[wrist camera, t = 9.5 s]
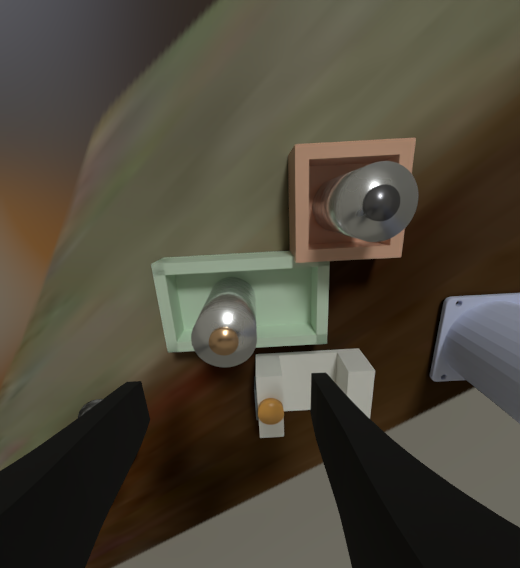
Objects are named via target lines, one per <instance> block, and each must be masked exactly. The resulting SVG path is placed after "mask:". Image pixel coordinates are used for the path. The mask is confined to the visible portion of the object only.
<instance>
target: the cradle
mask: <svg viewBox="0 0 520 568" xmlns="http://www.w3.org/2000/svg"><path fill="white" fill-rule="evenodd" d="M325 372H326V373H327V374H328V375H329V376H330V377H331V379H332V380H333V381H334V382H335V383H336V384H337V385H338V386H339V388H340V389H341V390H342V391H343V392H344V393H345V394H346V395H347V396H348V397H349V398H350V400H351V401H352V402H353V403H354V404H355V405H356V406H357V407H358V408H359V409H360V410H361V411H362V412H363V413H364V414H365V415H366V416H367V417H368V418H369V419H370V414H371V404H372V395H373V386H374V376H375V370H374V368H373V367H372V366H371V364H370V363H369V362H368V360H367V359H366V358H365V356H364V355H363V353H362V352H361V351H360V349H359V348H358V349H340V350H322V351H304V352H286V353H268V354H256V376H254V393H255V407H256V420H259V432H260V438H268V437H284V418H283V417H284V411H296V410H311V373H325Z"/></svg>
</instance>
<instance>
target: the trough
mask: <svg viewBox="0 0 520 568" xmlns="http://www.w3.org/2000/svg"><path fill="white" fill-rule="evenodd" d="M151 267H152V272H153V277H154V282H155V288H156V293H157V298H158V303H159V308H160V314H161V319H162V324H163V329H164V334H165V340H166V345H167V350H168V352H186V351H195V350H194V349H193V346H192V342H191V333H192V330H193V327H194V325H195V323H196V321H197V319H198V317H199V315H200V312H201V310H202V308H203V306H204V304H205V302H206V300H207V298H208V296H209V294H210V292H211V290H212V288H213V286H214V285H215V284H216V283H217V282H218V281H220V280H222V279H224V278H228V277H236V278H240V279H243V280H244V281H246V282H247V283H249V284H250V285H251V287H252V288H253V290H254V292H255V297H256V326H257V344H256V348H258V347H276V346H294V345H312V344H327V327H328V299H329V270H330V261H323V262H305V263H296V262H295V261H294V255H293V254H292V253H291V252H290V251H275V252H257V253H238V254H220V255H202V256H184V257H166V258H162V259H160V260H158V261H156V262H154V263H152V264H151Z"/></svg>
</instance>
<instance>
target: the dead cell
mask: <svg viewBox="0 0 520 568" xmlns="http://www.w3.org/2000/svg"><path fill="white" fill-rule="evenodd" d="M417 203H418V188H417V184H416V181H415V179H414V177H413V175H412V174H411V172H410V171H409V170H408V169H407V168H405V167H404V166H402V165H400V164H399V163H396V162H392V161H379V162H375V163H372V164H369V165H367V166H364V167H361V168H359V169H356V170H354V171H351V172H349V173H346V174H344V175H341V176H339V177H336V178H333V179H331V180H329V181H327V182H325V183H324V184H323V185H322V186H321V187H320V188H319V189H318V190H317V192H316V194H315V196H314V199H313V204H312V210H313V215H314V218H315V220H316V221H317V223H318V224H319V225H320V226H321V227H323V228H324V229H326V230H329V231H333V232H336V233H340V234H343V235H347V236H350V237H353V238H357V239H360V240H364V241H368V242H381V241H385V240H388V239H390V238H392V237H394V236H396V235H397V234H399V233H400V232H401V231H402V230H403V229H404V228H405V227H406V226H407V225H408V224H409V222H410V221H411V219H412V218H413V216H414V213H415V211H416V208H417Z"/></svg>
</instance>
